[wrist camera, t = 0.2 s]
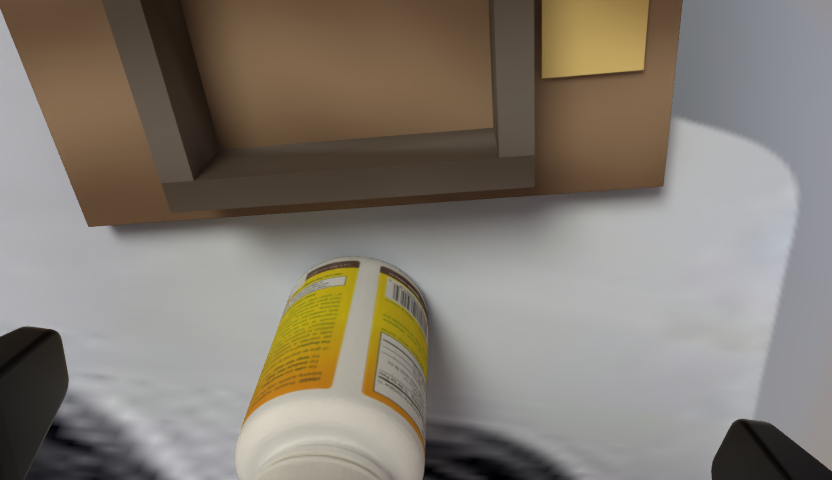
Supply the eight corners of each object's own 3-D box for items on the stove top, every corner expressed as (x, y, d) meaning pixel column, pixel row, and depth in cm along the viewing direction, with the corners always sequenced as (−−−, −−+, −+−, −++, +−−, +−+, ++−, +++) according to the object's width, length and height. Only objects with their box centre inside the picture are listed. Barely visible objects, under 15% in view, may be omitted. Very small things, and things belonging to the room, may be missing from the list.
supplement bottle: (277, 341, 26) (190, 579, 17) (309, 230, 23) (225, 445, 14) (404, 377, 27) (384, 624, 18) (450, 274, 24) (453, 504, 15)
